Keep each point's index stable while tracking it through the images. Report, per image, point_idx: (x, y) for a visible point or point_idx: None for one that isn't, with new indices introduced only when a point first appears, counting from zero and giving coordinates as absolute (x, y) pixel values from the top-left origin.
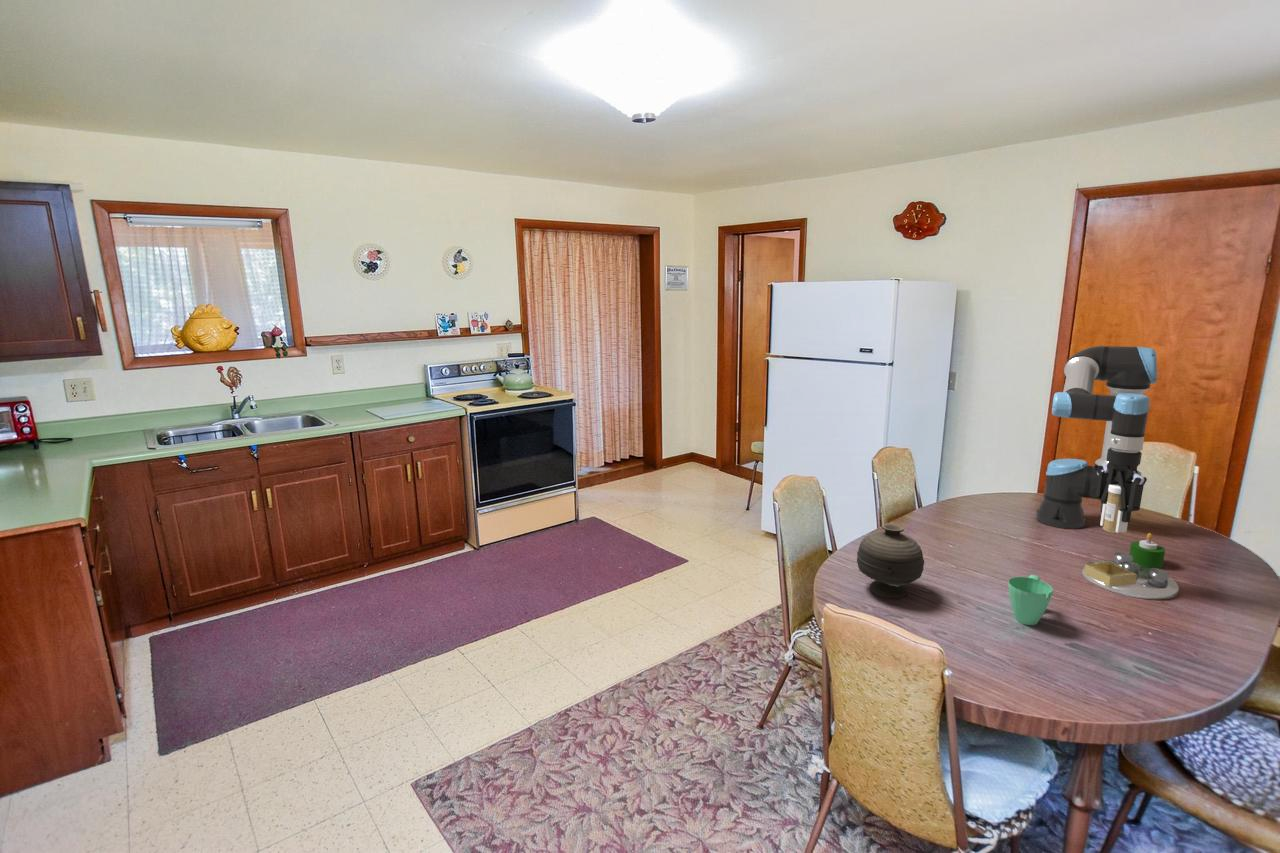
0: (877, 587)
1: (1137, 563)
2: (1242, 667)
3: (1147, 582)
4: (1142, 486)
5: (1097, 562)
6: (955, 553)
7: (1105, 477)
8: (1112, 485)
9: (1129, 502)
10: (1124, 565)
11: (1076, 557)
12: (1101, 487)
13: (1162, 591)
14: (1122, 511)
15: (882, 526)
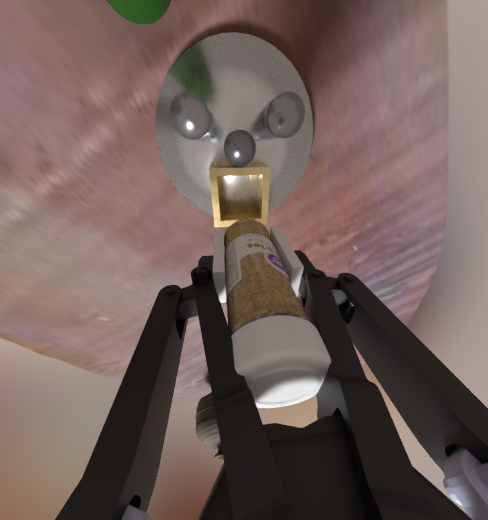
0: None
1: (151, 19)
2: (439, 212)
3: (268, 134)
4: (478, 410)
5: (166, 155)
6: (132, 322)
7: (153, 439)
8: (264, 405)
9: (347, 329)
10: (239, 166)
11: (118, 157)
12: (176, 364)
13: (301, 138)
14: (296, 289)
15: (222, 460)
